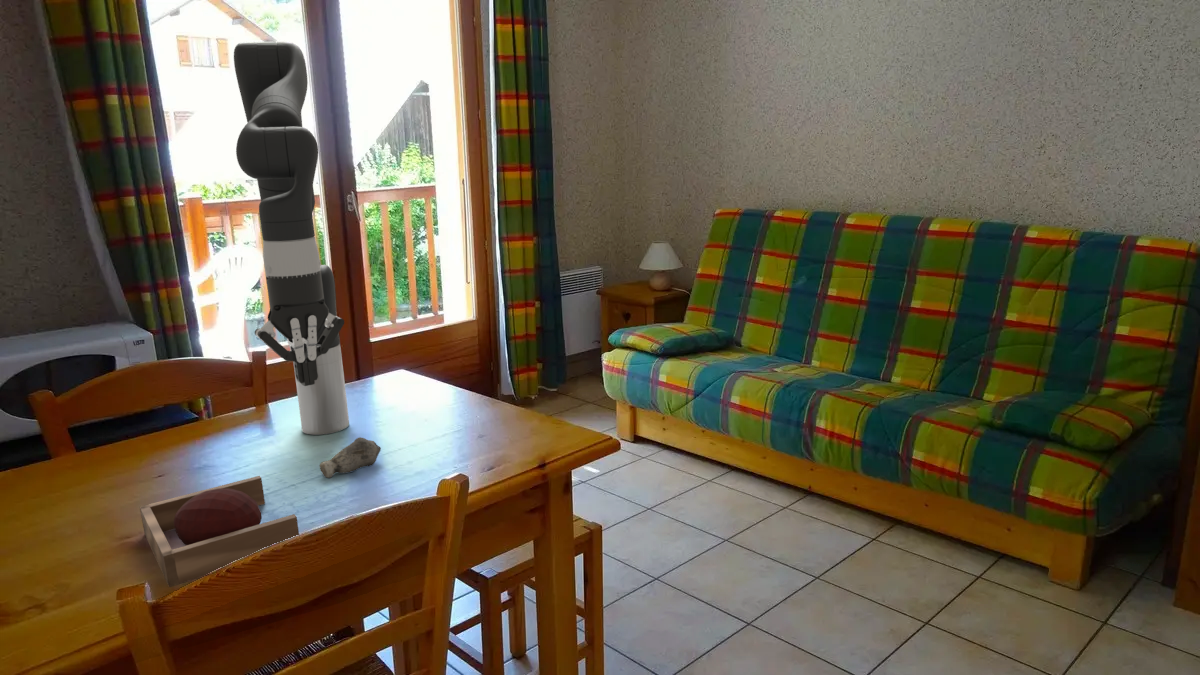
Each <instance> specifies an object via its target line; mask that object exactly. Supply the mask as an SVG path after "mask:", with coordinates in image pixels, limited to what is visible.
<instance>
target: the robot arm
mask: <svg viewBox="0 0 1200 675" xmlns="http://www.w3.org/2000/svg"><path fill="white" fill-rule="evenodd" d="M233 64H234V70H235V75H236V80H237V85H238V89H239V94H240V98H241V102H242V104H243V111H244V114H245V118H246V122H247V123H246V124H245V125H244V127H243V128H242V129H241V130H240V133H239V135H238V139H237V142H236V151H235V153H236V154H235V155H236V159H237V163H238V165H239V167H240V169H241V171H243V173H244V174H246V175H247V176H249V177H250V178H251V179H255V180H257V186H258V191H259V197H260V202H259V205H258V216H259V221H260V228H261V236H262V244H263V247H262V251H263V252H262V258H263V266H264V267H263V268H264V272H265V274H264V275H265V280H266V288H267V295H268V303H269V312H268V314H267V320H268V321H267V322H265V323H264V324H263V325H262V327H260V328H259V327H258V328H256V329H255V330H254V335H255V336H256V337H257V338H258V339H259V340H260V341H262V343H264V344H265V345H266V346H267V347H269V349H271V350H272V351H273V352H274V353H276V355H278V356H279V357H280V358H281V359H283V360H285V361H287V362H289V361H291V362H293V369H294V377H295V384H296V394H297V399H298V400H297V401H298V408H299V417H300V424H301V430H302V432H303V433H304V434H306V435H311V436H313V435H315V436H317V435H319V436H320V435H328V434H335V433H337V432H340V431H343V430H344V429H346V428H348V427H349V425H350V418H349V409H348V399H347V391H346V382H345V373H344V366H343V357H342V356H343V355H342V348H341V340H340V334H339V333H340V331H341V330H342V328H343V327H344V325H345V320H344V319H343V318H342V317H339V316H338V315H337V314H338V313H337V300H336V299H337V298H336V285H335V284H336V283H335V277H334V276H335V275H334V273H333V270H332V269H331V267H330V266H329V265H326V264H322V263H321V259H320V254H319V250H318V244H317V241H316V237H315V236H316V234H315V227H314V225H315V224H314V218H313V212H314V210H315V206H316V205H315V204H316V200H315V199H316V198H315V192H314V182H315V175H316V170H317V169H316V168H317V164H318V159H319V146H318V142H317V139H316V138H315V136H314V134H313V133H312V132H311V131H310V130H309V129H308V128H305V127H304V126H303V119H302V109H303V107H304V104H305V100H306V97H307V91H308V83H309V82H308V73H307V72H308V71H307V65H306V64H307V63H306V60H305V56H304V53H303V51H302V49H301V48H300V47H299V45H297V44H296V43H293V42H290V41H249V42H248V41H246V42H245V41H244V42H239V43H238V44H236V45H235V47H234V50H233ZM274 329H276V331H278V332H279V334H281V335H282V337H284V338H286V339H287V340H286V341H287V344H288V345H289V350H288V349H286V348H285V347H284V346H283V345H282V344H281V343H279V342H278V341H277V340H276V339H275V338H276V332H275V330H274Z"/></svg>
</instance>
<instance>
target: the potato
mask: <svg viewBox="0 0 1200 675" xmlns="http://www.w3.org/2000/svg"><path fill="white" fill-rule="evenodd" d="M259 506H260V505H259ZM259 506H258V504H257V502H256V501H255V500H254V499H252V498H251V497H250V496H248V495H247V494H245V493H243V492H241V491H237V490H234V489H225V488H219V489H214V490H209V491H205V492H202V493H200V494H198V495H196V496H194V497H193V498H191V499H190V500H189V501H187V502H186V503H185V504H184V505H183V506H182V507H181V508H180V509H179V510H178V512H177V513H176V514H175V518H174V522H173V523H174V527H175V529H174V530H175V533H176V535H177V537H178V539H179V540H180V542H182V543H183V545H184V546H187V545H190V544H193V543H197V542H200V541H204V540H207V539H211V538H214V537H217V536H221V535H224V534H228V533H231V532H235V531H238V530H241V529H245V528H248V527H252V526H255V525H259V524H261V522H262V518H263V516H262V512H261V509H260V507H259Z"/></svg>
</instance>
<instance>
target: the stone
mask: <svg viewBox="0 0 1200 675" xmlns="http://www.w3.org/2000/svg"><path fill="white" fill-rule="evenodd" d="M381 450H382V448H381V446H379V445H378V444H377V443H376V442H375V441H374V440H369V439H366V438H364V437H361V436H359V437H357V438H356V439H354V441H353V442H351V443H350V444H348V445H347V446H345V447H344V448H342V449H341V450H339V452H337V453H335V455H334V456H333V457H332V458H331V459H329V460H325V461H322V462H320V464H319V470H320V472H321V474H322V475H323V476H324V477H325V478H327V479H331V478H332V477H333V476H334V475H335V474H348V473H352V472H354V471H357V470H359V469H362V468H365V467H372V466H373V465H374V464H375V463H376V461H377V459H378V456H379V454H380V452H381Z"/></svg>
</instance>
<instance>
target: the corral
mask: <svg viewBox="0 0 1200 675" xmlns="http://www.w3.org/2000/svg"><path fill="white" fill-rule="evenodd" d="M219 488H225V489H234V490H237V491H241V492H243V493H245V494H247V495H248V496H250V497H251V498H252V499H254V500H255V501H256V502H257V504H258V506H261V505H265V504H266V501H265V494H264V493H265V492H264V486H263V479H262V477H261V476H260V475H257V476H254V477H249V478H245V479H241V480H237V481H233V482H230V483H224V484H222V485H218V486H214V487H211V488H210V487H209V488H207V489H202V490H199V491H195V492H191V493H187V494H182V495H179V496H175V497H172V498H168V499H165V500H160V501H156V502H152V503H149V504H145V505H140V506H139V512H140V517H141V522H142V528H143V532H144V536H145V538H146V540H147V543H148V544H149V547H150V549H151V551H152V553H153V555H154V557H155V560H156V562H157V564H158V566H159V569H160V571H161V572H162V575H163V577H164V579H165V581H166V584H167V585H168V588H170V587H174V586H176V585H180V584H184V583H186V582H189V581H192V580H196V579H199V578H202V577H201V576H203V577H205V576H204V575H206V574H208V573H210V572H212V571H214V570H216V569H218V568H220V567H223V566H225V565H227V564H229V563H231V562H233V561H235V560H238V559H240V558H242V557H245V556H247V555H250V554H252V553H254V552H256V551H258V550H260V549H262V548H264V547H267V546H270V545H272V544H274V543H277V542H280V541H283V540H285V539H288V538H291V537H293V536H296V535H299V536H300V530H299V524H298V523H299V522H298V517H297V515H296V514H294V513H293V514H290V515H286V516H283V517H280V518H275V519H272V520H270V521H266V522H262V523H260V524H259V525H255V526H252V527H248V528H245V529H241V530H238V531H235V532H231V533H228V534H224V535H221V536H217V537H214V538H211V539H207V540H204V541H200V542H197V543H193V544H190V545H187V546H186V545H183V546H181V547H177V548H173V549H172V548H171V545H170V543H169V542H168V540H167V537H166V535H165V534H164V533H165V532H169V531H173V530H175V527H174V523H173V522H174V518H175V514H176V513H177V512H178V510H179V509H180V508H181V507H182V506H183V505H184V504H185V503H186V502H187V501H189V500H190V499H191V498H193V497H194V496H196V495H198V494H200V493H202V492H205V491H209V490H214V489H219ZM206 576H207V575H206Z"/></svg>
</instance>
